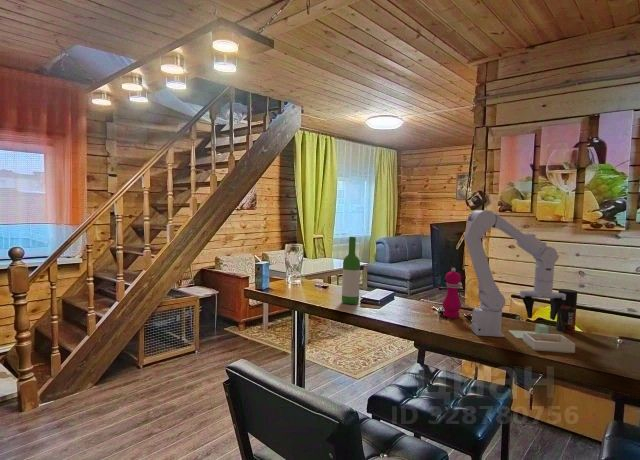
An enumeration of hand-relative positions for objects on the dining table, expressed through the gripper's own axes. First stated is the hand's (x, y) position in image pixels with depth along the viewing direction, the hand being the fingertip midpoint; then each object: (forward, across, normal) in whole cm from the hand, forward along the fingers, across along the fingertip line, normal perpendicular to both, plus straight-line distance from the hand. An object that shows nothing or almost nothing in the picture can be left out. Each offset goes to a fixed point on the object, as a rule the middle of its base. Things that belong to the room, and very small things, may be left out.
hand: (540, 318), depth 142 cm
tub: (+6, -2, -12) cm, 14 cm away
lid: (+7, -4, 0) cm, 8 cm away
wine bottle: (+7, -68, +33) cm, 76 cm away
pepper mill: (+7, -26, +20) cm, 34 cm away
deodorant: (+6, +13, +9) cm, 17 cm away
